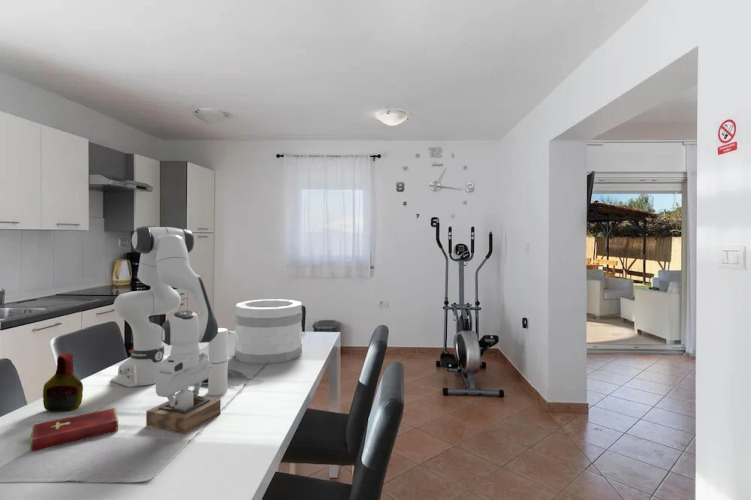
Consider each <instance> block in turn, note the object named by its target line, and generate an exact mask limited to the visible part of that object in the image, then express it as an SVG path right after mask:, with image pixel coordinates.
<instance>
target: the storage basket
mask: <svg viewBox="0 0 751 500" xmlns="http://www.w3.org/2000/svg"><path fill="white" fill-rule="evenodd" d="M302 305H303V304H302V302H301V301H299V300H294V299H279V298H276V299H275V298H274V299H273V298H271V299H270V298H269V299H266V298H264V299H254V300H252V299H251V300H246V301H241V302H238V303H236V304H235V313H234V322H235V324H234V325H235V326H234V328H235V329H234V330H235V331H234V340H235V341H234V342H235V344H234V345H235V347H234V357H235V358H236V360H237V361H238V362H243V363H247V364H253V365H255V364H257V365H258V364H260V365H271V364H278V363H284V362H285V363H286V362H289V361H291V360H295V359H296V358H299V357H300V356H301V354H302V353H303V344H302V336H303V327H302V321H303V310H302V307H303V306H302Z"/></svg>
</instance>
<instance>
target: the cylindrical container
mask: <svg viewBox="0 0 751 500" xmlns="http://www.w3.org/2000/svg"><path fill="white" fill-rule="evenodd" d="M228 331H229V330H228V328H223V327H218V334H217V335H216V337H215V338H214V339H213V340H212V341H210V342H208V355H207V356H208V361H209V366H210V376H209V378H208V379H207V381H208V382H207V383H208V384H207V385H208V389H207V390H208V391H207V394H208V395H209V396H210V395H211V396H220V395H224V394H226V393H227V392H228V361H229V359H228V358H229V357H228V356H229V355H228V349H229V348H228V347H229V346H228V344H229V342H228V339H229V338H228V337H229V336H228Z"/></svg>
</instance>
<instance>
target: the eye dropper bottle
mask: <svg viewBox="0 0 751 500" xmlns="http://www.w3.org/2000/svg"><path fill="white" fill-rule="evenodd" d="M174 398H175V400H177V405H176V406H175V409H179V410H184V411H185V410H187V409H189V408H191V407H193V392H192V389H189V387H188V388H185V389H183V390H181V391H179V392H176V393H175V396H174Z"/></svg>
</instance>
